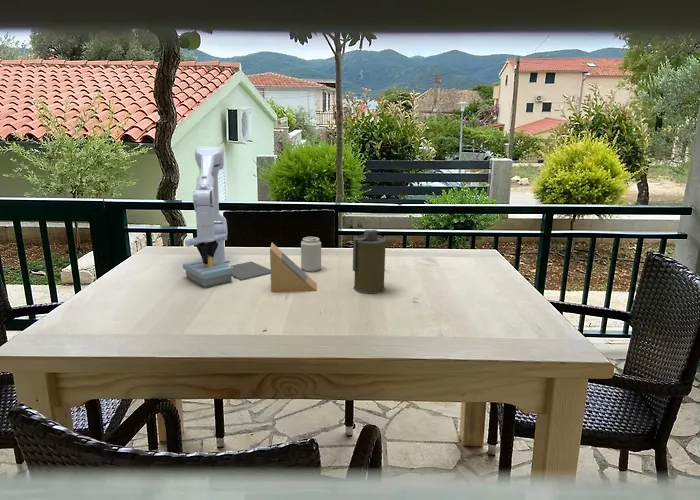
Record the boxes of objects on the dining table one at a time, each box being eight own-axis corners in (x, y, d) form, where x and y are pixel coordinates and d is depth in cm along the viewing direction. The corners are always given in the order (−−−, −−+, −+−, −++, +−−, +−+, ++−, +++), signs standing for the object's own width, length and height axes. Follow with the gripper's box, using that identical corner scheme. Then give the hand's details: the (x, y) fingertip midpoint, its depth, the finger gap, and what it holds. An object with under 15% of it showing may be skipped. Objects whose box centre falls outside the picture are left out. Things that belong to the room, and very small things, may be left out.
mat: (218, 269, 192) (218, 268, 191) (251, 262, 201) (251, 261, 200) (240, 280, 180) (240, 279, 180) (274, 272, 189) (274, 271, 189)
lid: (183, 268, 182) (181, 253, 180) (212, 262, 189) (211, 248, 188) (203, 279, 171) (202, 264, 169) (234, 272, 178) (233, 257, 176)
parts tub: (186, 277, 182) (185, 265, 181) (212, 271, 189) (211, 260, 188) (204, 287, 172) (204, 275, 171) (231, 281, 179) (231, 269, 178)
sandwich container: (317, 291, 171) (317, 248, 167) (271, 292, 170) (269, 248, 166) (316, 283, 179) (316, 241, 175) (272, 283, 178) (271, 241, 174)
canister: (376, 282, 181) (378, 226, 176) (389, 291, 172) (392, 233, 166) (347, 285, 177) (348, 228, 172) (359, 295, 168) (360, 235, 162)
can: (318, 272, 190) (318, 241, 187) (298, 271, 191) (298, 240, 188) (323, 266, 197) (323, 236, 194) (303, 265, 198) (303, 235, 195)
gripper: (190, 230, 168) (193, 269, 171) (230, 223, 177) (232, 261, 181) (181, 226, 173) (184, 264, 177) (220, 220, 182) (222, 257, 186)
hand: (207, 263), depth 179 cm, fingers closed on lid
